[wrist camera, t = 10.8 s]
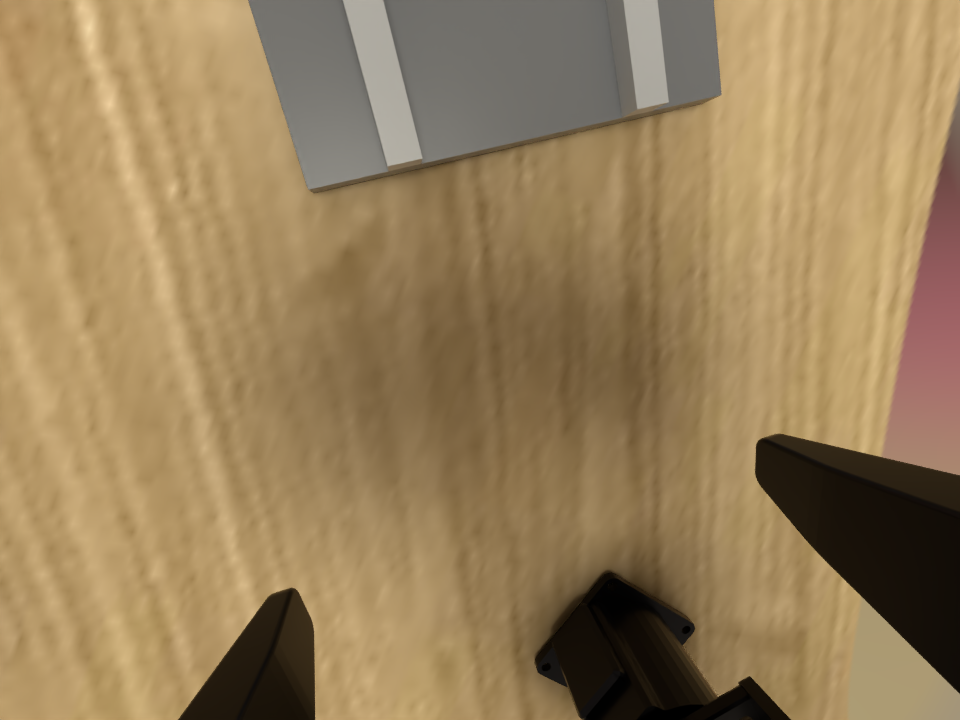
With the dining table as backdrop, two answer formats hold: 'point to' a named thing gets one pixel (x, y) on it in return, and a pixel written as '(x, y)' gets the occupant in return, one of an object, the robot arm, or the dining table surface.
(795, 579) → the dining table surface
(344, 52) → the track
